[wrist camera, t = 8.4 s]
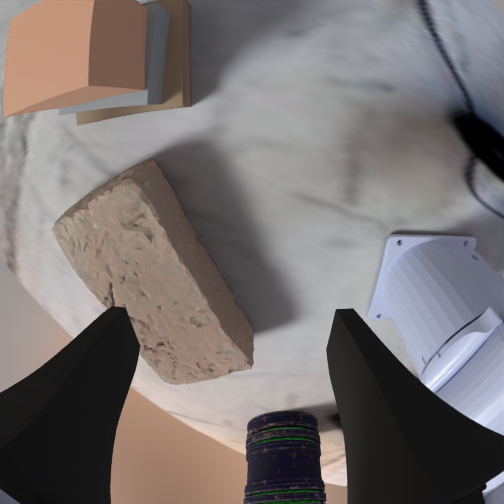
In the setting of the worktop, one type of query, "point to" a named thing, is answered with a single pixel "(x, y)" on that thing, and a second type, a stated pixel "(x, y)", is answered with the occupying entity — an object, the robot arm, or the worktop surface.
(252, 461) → the storage jar
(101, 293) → the brick
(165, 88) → the tower base
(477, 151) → the worktop surface
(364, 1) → the worktop surface
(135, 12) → the terracotta block
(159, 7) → the grey flat square block
